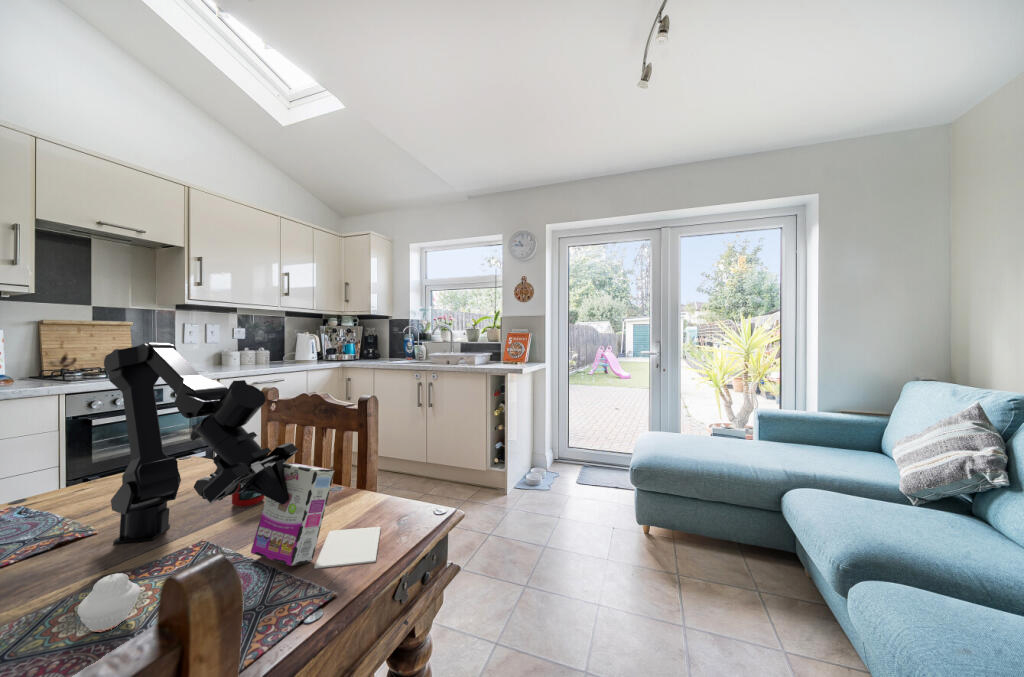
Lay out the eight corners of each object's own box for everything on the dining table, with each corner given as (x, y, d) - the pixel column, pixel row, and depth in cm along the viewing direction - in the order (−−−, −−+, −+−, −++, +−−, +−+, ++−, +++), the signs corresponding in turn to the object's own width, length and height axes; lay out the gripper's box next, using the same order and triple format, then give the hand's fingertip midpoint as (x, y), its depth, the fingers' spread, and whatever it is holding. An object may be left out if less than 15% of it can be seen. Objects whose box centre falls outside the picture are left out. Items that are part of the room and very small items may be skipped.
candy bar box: (314, 561, 71) (336, 469, 76) (291, 567, 67) (316, 469, 72) (272, 548, 76) (296, 462, 80) (248, 553, 71) (275, 461, 76)
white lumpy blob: (65, 633, 52) (69, 581, 52) (124, 605, 58) (127, 559, 58) (90, 647, 50) (93, 593, 50) (148, 617, 56) (151, 568, 56)
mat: (314, 568, 69) (314, 566, 69) (329, 532, 83) (329, 530, 83) (375, 562, 72) (375, 560, 72) (380, 527, 85) (380, 526, 85)
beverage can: (247, 510, 92) (250, 460, 92) (224, 507, 93) (226, 457, 94) (270, 499, 99) (272, 453, 99) (248, 497, 100) (250, 450, 100)
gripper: (234, 456, 81) (284, 511, 80) (151, 488, 62) (215, 559, 62) (273, 420, 81) (323, 474, 81) (202, 441, 62) (266, 511, 62)
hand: (286, 502), depth 71 cm, fingers closed
